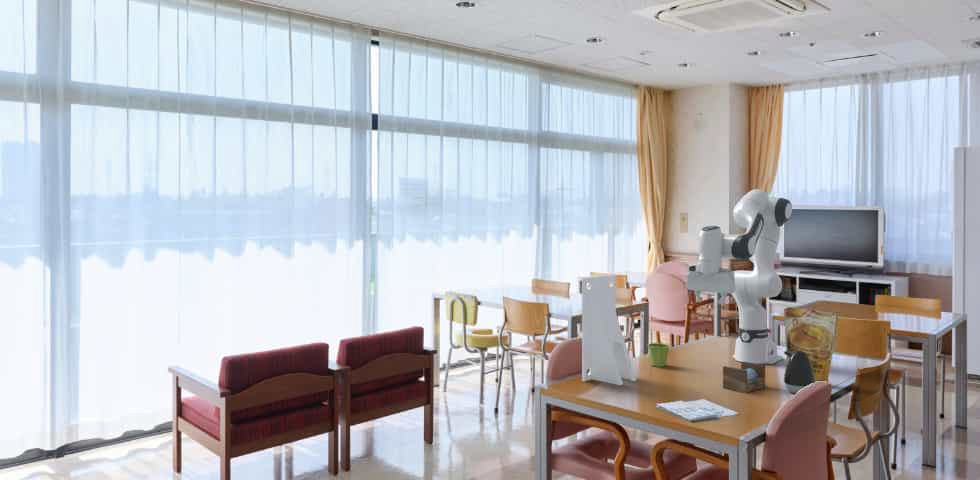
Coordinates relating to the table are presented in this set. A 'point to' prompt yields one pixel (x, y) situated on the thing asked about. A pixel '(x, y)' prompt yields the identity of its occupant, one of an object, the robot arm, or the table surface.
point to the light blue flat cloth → (696, 410)
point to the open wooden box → (743, 377)
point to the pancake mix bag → (812, 337)
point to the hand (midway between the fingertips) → (710, 303)
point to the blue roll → (751, 374)
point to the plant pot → (658, 354)
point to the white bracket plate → (603, 333)
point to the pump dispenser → (798, 371)
